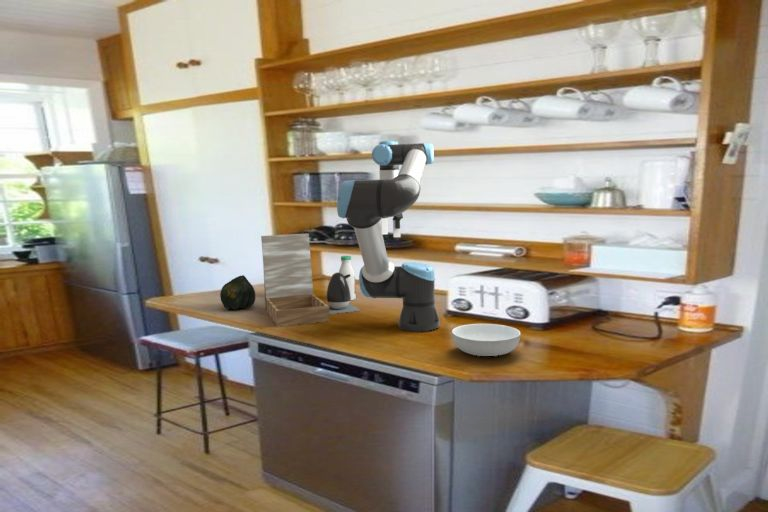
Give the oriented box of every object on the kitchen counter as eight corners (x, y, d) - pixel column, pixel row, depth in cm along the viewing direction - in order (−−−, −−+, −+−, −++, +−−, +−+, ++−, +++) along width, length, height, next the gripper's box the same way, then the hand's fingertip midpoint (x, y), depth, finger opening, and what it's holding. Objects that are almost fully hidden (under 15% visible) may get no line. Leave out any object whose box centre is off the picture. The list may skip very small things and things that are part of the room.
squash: (207, 298, 238) (227, 272, 234) (227, 292, 252) (246, 268, 248) (230, 321, 236) (250, 296, 232) (249, 314, 250) (268, 290, 246)
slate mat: (360, 311, 232) (360, 309, 232) (327, 314, 227) (327, 313, 227) (350, 304, 245) (350, 303, 245) (318, 307, 240) (318, 306, 240)
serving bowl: (532, 351, 174) (533, 329, 173) (497, 368, 158) (497, 345, 157) (475, 339, 187) (475, 319, 186) (438, 354, 172) (437, 332, 171)
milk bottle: (353, 301, 251) (352, 257, 248) (336, 301, 253) (335, 257, 250) (357, 297, 259) (356, 255, 256) (341, 297, 260) (340, 254, 258)
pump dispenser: (350, 310, 230) (349, 274, 228) (325, 311, 231) (323, 274, 229) (352, 305, 240) (351, 270, 238) (328, 305, 241) (327, 270, 239)
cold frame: (329, 321, 216) (326, 239, 212) (277, 327, 209) (273, 242, 205) (310, 305, 246) (307, 233, 241) (264, 309, 239) (260, 235, 234)
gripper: (410, 180, 208) (411, 237, 210) (387, 181, 231) (388, 232, 234) (392, 181, 205) (393, 239, 208) (369, 181, 228) (371, 233, 231)
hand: (390, 235), depth 221 cm, fingers open, 13 cm apart
